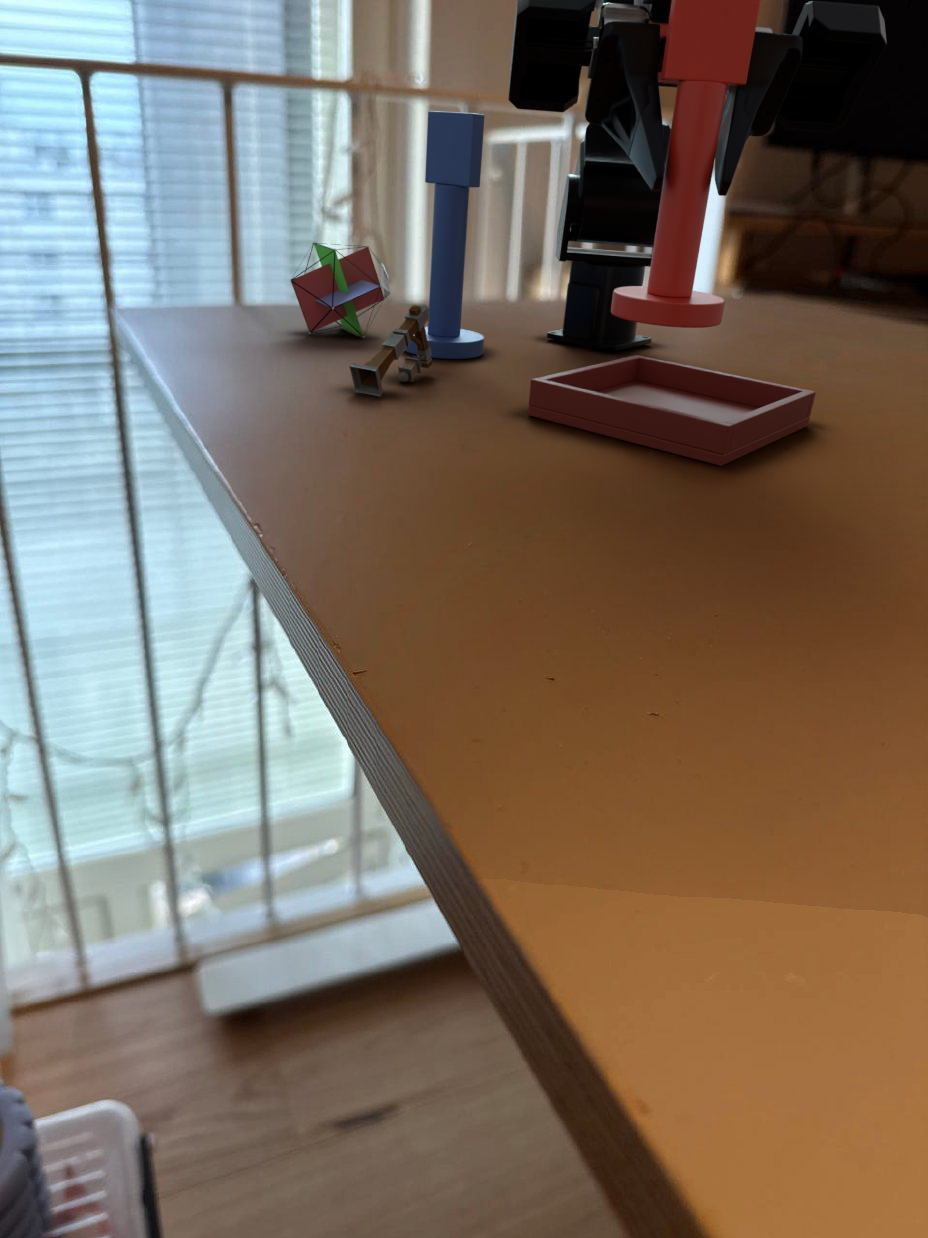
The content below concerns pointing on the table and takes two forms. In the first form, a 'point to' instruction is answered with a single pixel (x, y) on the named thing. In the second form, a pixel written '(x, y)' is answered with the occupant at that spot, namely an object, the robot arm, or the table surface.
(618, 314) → the signpost on round base
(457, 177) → the blue pillar
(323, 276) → the geometric puzzle
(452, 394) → the table surface
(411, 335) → the jointed funnel contraption
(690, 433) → the red tray
